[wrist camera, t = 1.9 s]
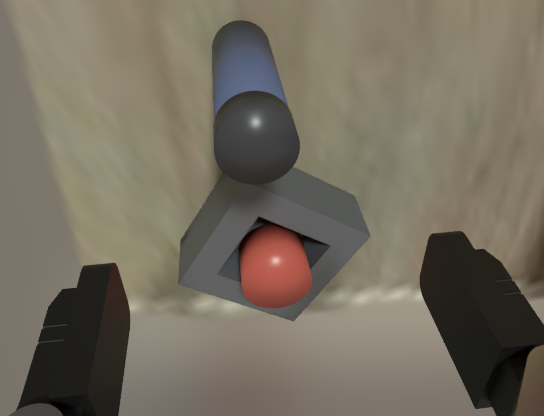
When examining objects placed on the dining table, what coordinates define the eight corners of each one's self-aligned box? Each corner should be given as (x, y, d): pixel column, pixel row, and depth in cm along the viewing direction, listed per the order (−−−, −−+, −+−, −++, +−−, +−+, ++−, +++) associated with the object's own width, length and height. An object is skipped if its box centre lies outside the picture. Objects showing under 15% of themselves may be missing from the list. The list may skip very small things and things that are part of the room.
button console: (354, 196, 33) (370, 235, 29) (285, 278, 37) (293, 321, 33) (242, 143, 29) (247, 182, 26) (180, 240, 33) (178, 283, 30)
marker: (282, 38, 26) (316, 133, 18) (251, 88, 27) (271, 196, 19) (229, 7, 25) (240, 95, 17) (200, 61, 26) (199, 164, 18)
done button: (316, 237, 30) (325, 272, 28) (281, 279, 32) (287, 315, 30) (260, 214, 29) (265, 249, 26) (227, 260, 31) (229, 296, 28)
